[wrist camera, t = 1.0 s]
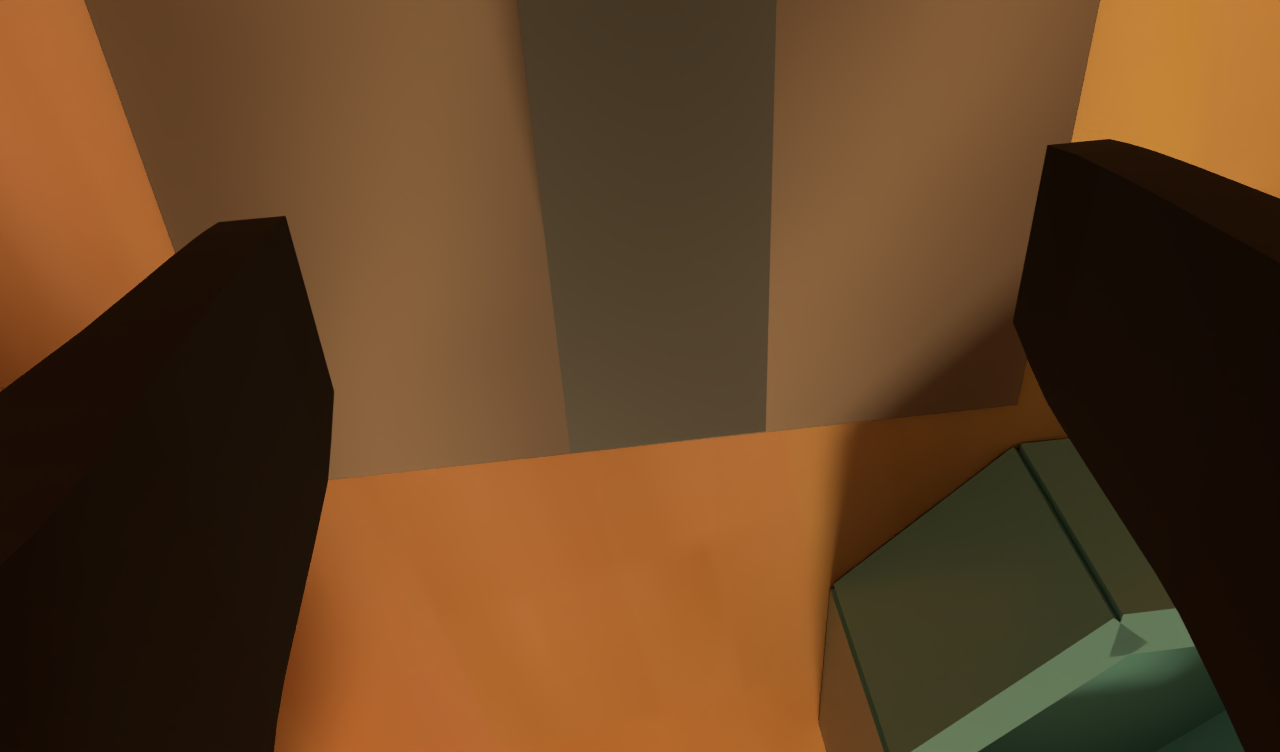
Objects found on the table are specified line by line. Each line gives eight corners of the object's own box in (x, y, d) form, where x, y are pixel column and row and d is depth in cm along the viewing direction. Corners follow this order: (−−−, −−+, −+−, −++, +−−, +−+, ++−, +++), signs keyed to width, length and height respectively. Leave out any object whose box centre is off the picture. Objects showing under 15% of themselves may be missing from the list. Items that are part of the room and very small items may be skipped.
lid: (267, 456, 19) (210, 684, 15) (-67, -512, 11) (-363, -543, 7) (1000, 377, 20) (1122, 576, 16) (1181, -585, 12) (1514, -651, 8)
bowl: (811, 807, 26) (856, 980, 23) (841, 463, 19) (909, 640, 16) (1252, 750, 27) (1355, 910, 24) (1425, 398, 20) (1603, 557, 17)
